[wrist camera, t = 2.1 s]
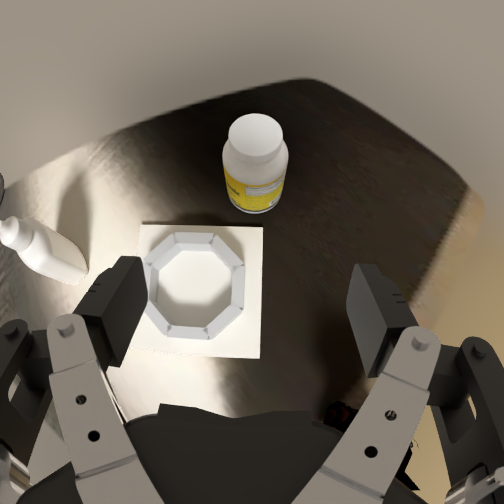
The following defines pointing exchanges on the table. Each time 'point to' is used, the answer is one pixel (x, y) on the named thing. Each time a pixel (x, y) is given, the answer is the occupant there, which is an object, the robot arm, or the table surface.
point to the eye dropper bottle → (44, 249)
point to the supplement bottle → (255, 163)
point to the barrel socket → (201, 290)
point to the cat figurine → (341, 421)
